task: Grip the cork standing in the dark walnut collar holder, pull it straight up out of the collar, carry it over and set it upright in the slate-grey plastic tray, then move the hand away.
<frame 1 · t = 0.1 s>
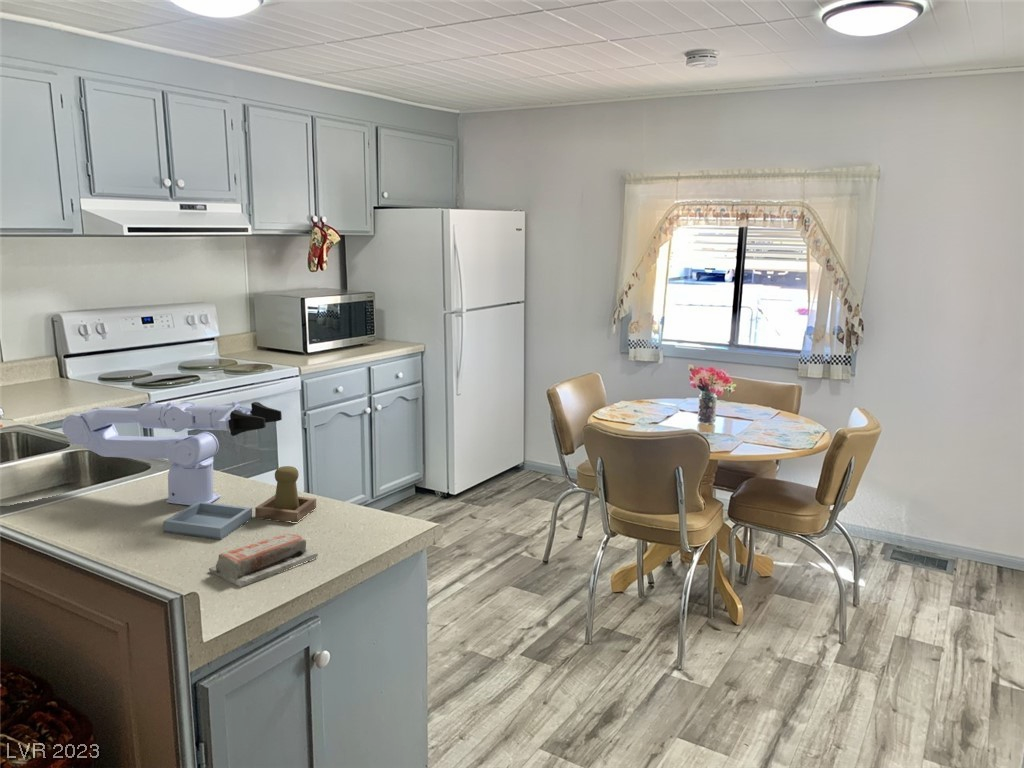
hand: (272, 419, 178), 22 cm above the worktop, tool horizontal, fingers open, 7 cm apart
parts tray: (209, 525, 171), on the worktop
cork: (286, 514, 180), resting in collar holder
packaged product: (265, 568, 153), on the worktop
collar holder: (286, 513, 180), on the worktop
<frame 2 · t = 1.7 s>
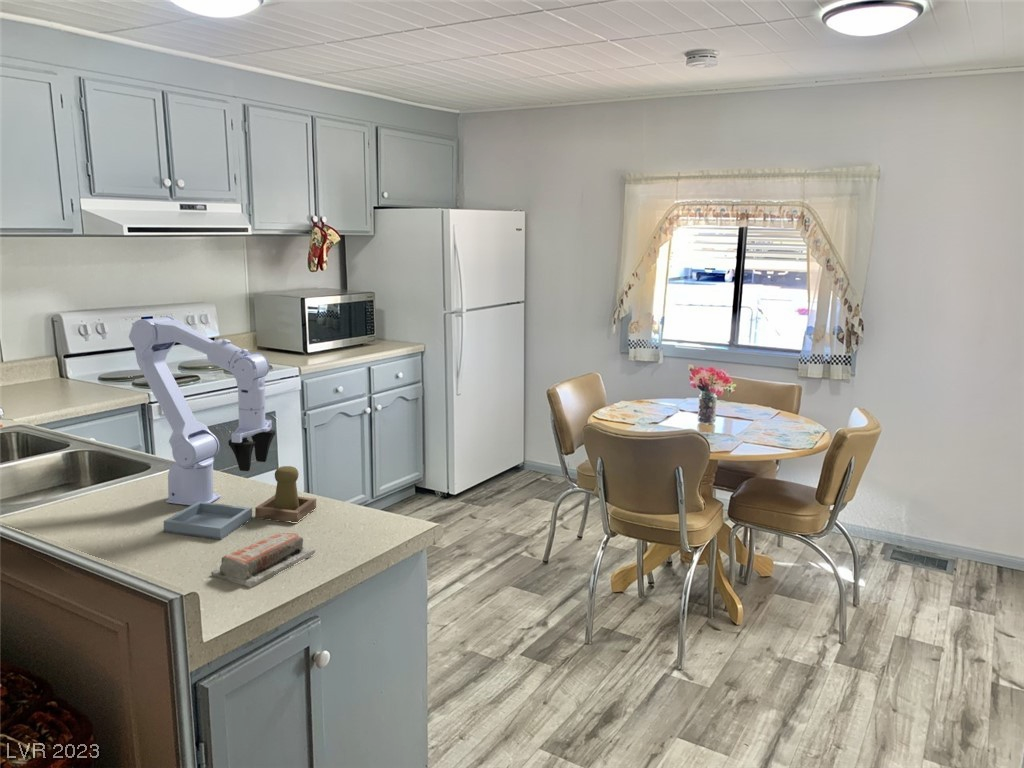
hand: (253, 465, 180), 10 cm above the worktop, tool pointing down, fingers open, 7 cm apart
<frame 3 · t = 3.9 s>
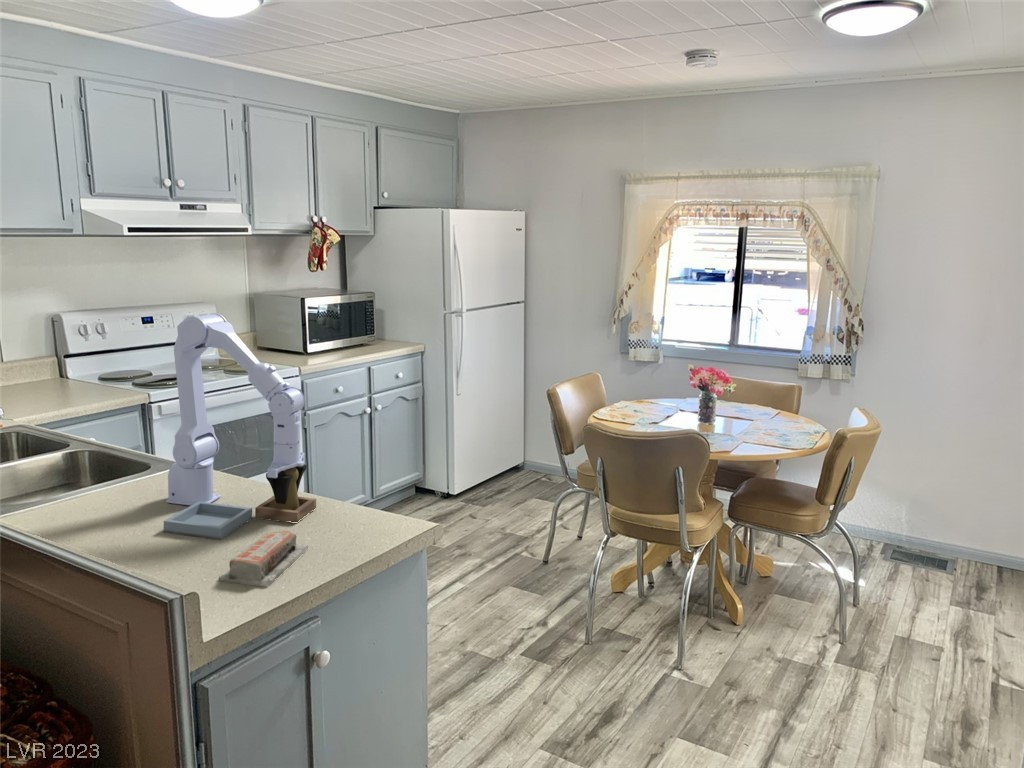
hand: (286, 499, 180), 3 cm above the worktop, tool pointing down, fingers closed on cork, 5 cm apart
cork: (286, 514, 180), resting in collar holder, touching gripper
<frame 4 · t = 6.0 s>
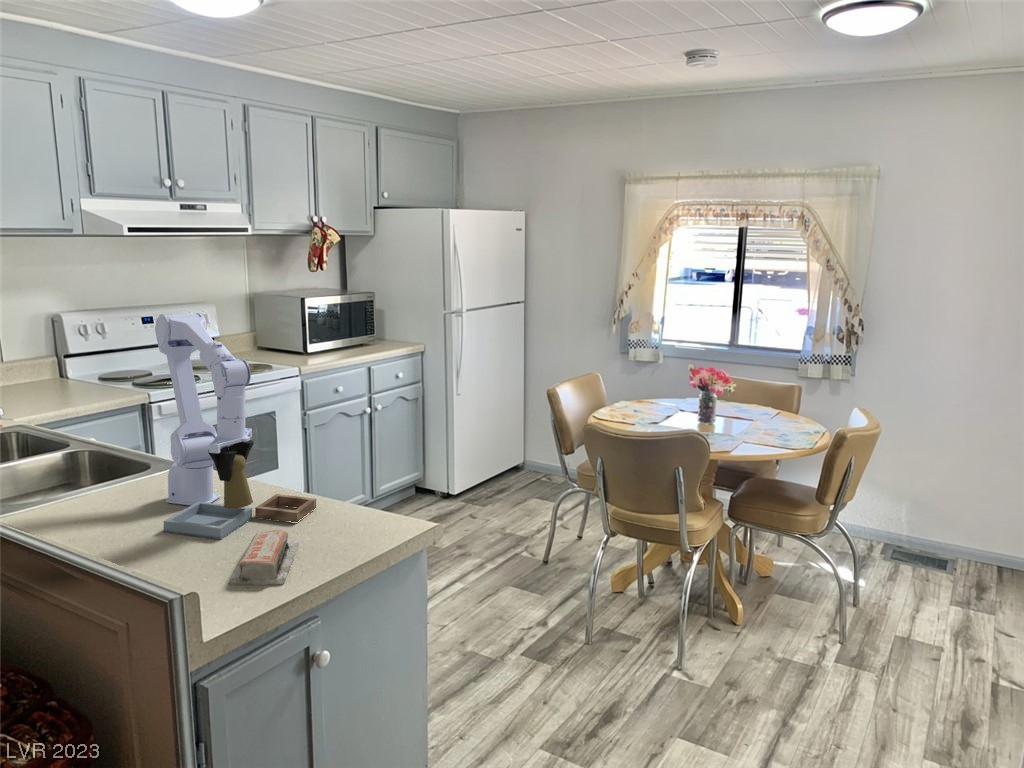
hand: (231, 476, 171), 10 cm above the worktop, tool pointing down, fingers closed on cork, 5 cm apart
cork: (238, 504, 173), point 4 cm above the worktop, touching gripper
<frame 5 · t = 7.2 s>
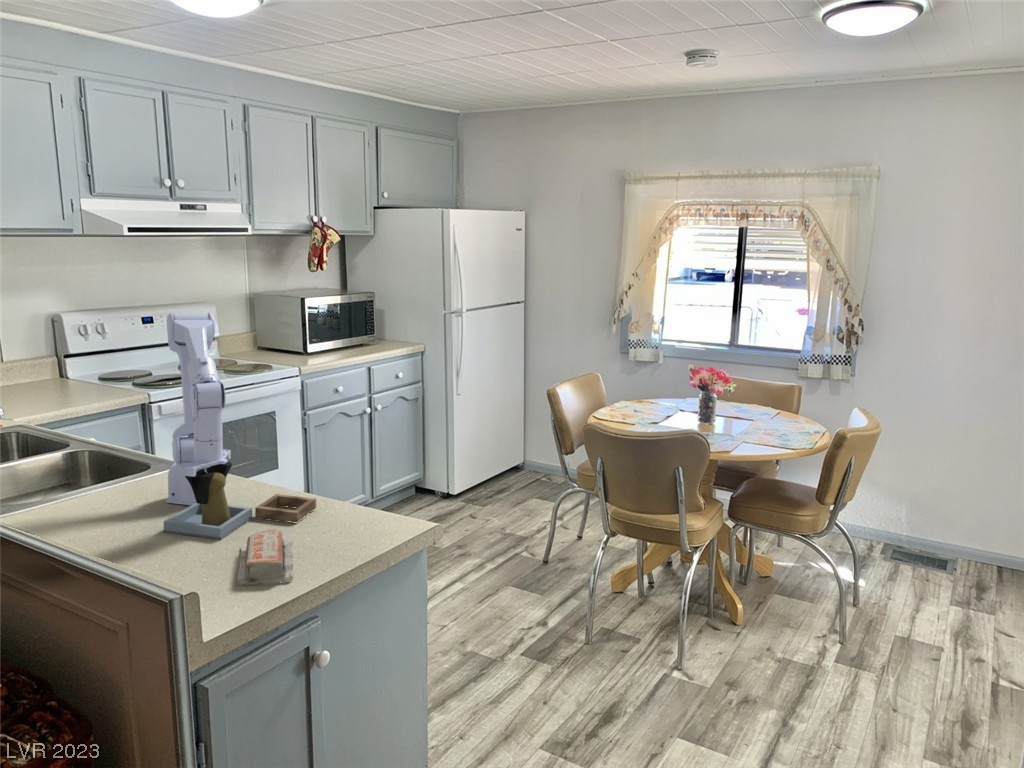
hand: (209, 499, 169), 6 cm above the worktop, tool pointing down, fingers closed on cork, 5 cm apart
cork: (216, 523, 170), point 1 cm above the worktop, touching gripper, parts tray
when the fingers open (5 cm above the worktop, at t = 7.8 s): cork stays where it is, resting on parts tray.
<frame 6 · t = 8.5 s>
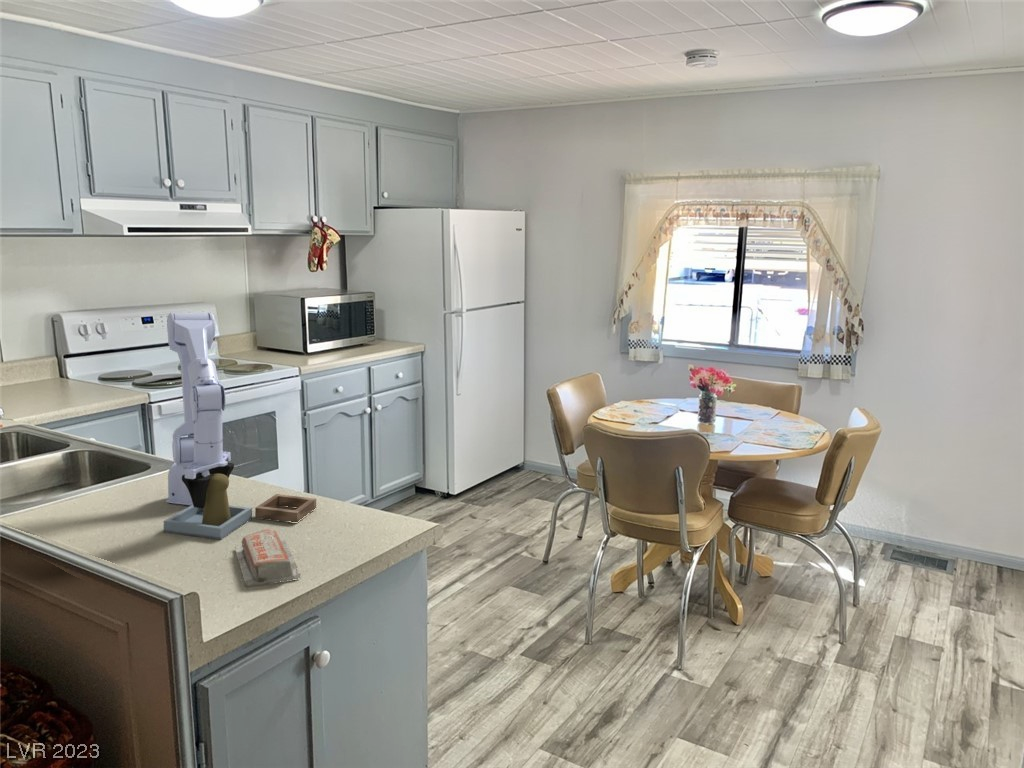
hand: (209, 501, 170), 5 cm above the worktop, tool pointing down, fingers open, 7 cm apart
cork: (216, 524, 170), resting on parts tray
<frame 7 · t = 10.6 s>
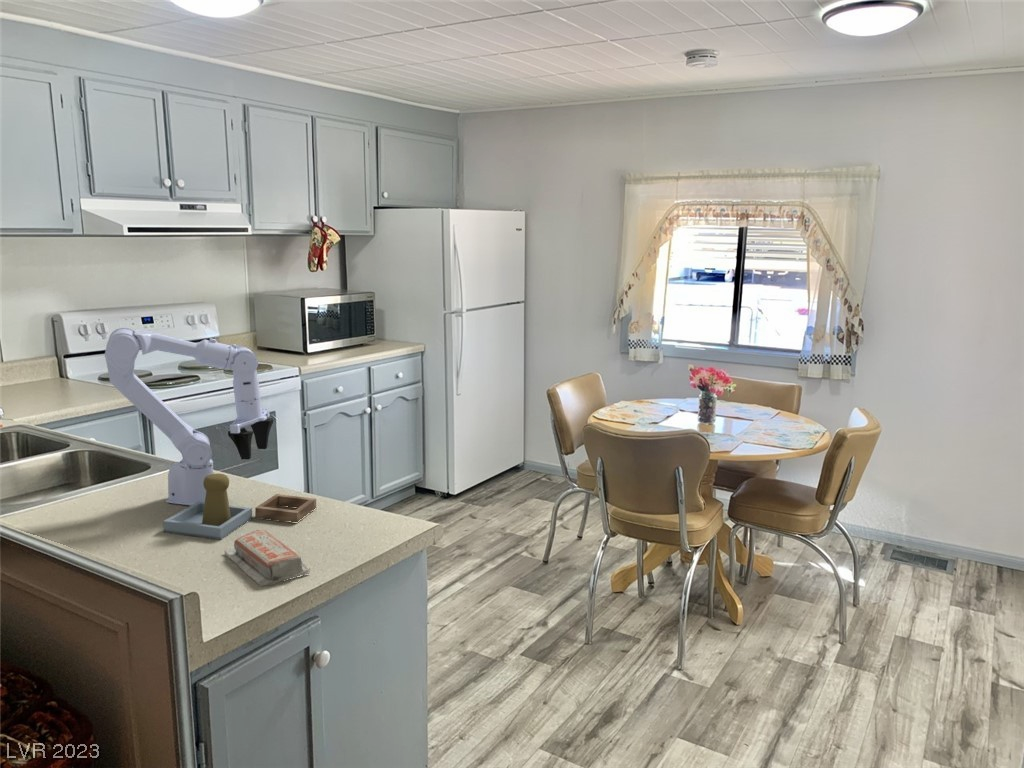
hand: (254, 453, 188), 11 cm above the worktop, tool pointing down, fingers open, 7 cm apart
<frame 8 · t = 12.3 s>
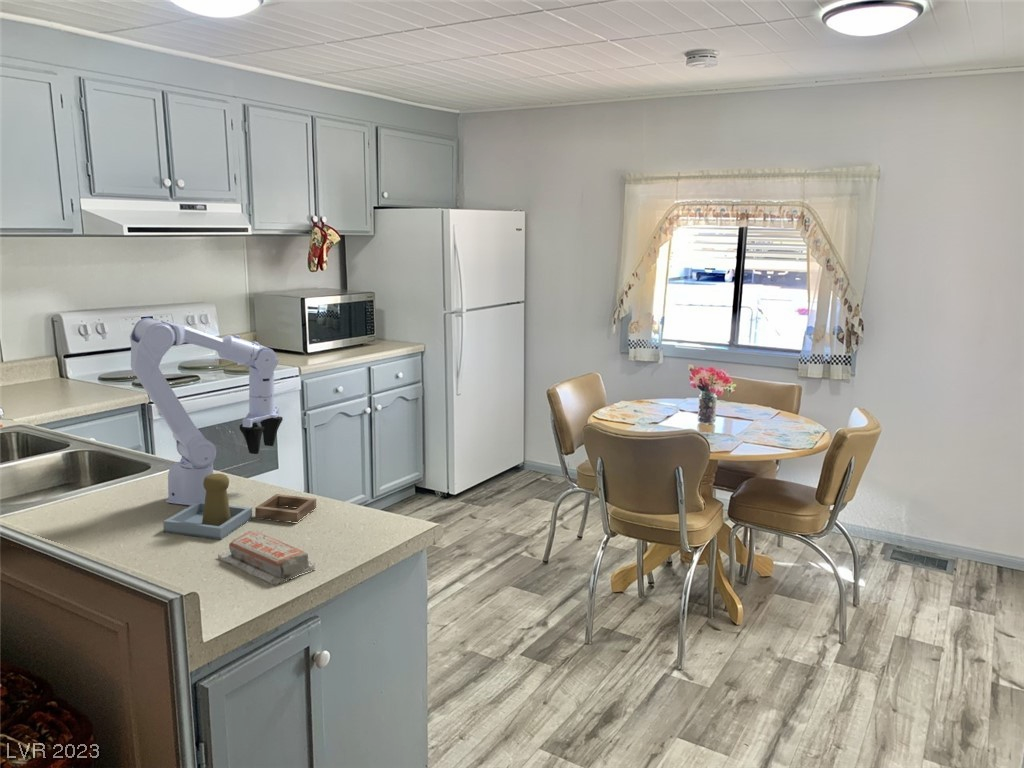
hand: (261, 449, 193), 10 cm above the worktop, tool pointing down, fingers open, 7 cm apart
at the end: cork 1.6 cm off-centre on the parts tray, point 0.3 cm above the parts tray's base; cork tilted 0°; the gripper is holding nothing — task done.
